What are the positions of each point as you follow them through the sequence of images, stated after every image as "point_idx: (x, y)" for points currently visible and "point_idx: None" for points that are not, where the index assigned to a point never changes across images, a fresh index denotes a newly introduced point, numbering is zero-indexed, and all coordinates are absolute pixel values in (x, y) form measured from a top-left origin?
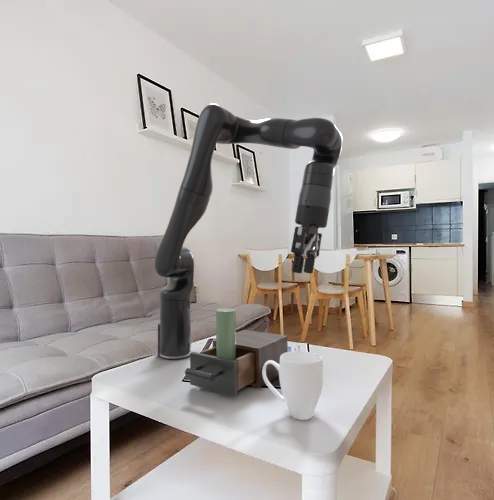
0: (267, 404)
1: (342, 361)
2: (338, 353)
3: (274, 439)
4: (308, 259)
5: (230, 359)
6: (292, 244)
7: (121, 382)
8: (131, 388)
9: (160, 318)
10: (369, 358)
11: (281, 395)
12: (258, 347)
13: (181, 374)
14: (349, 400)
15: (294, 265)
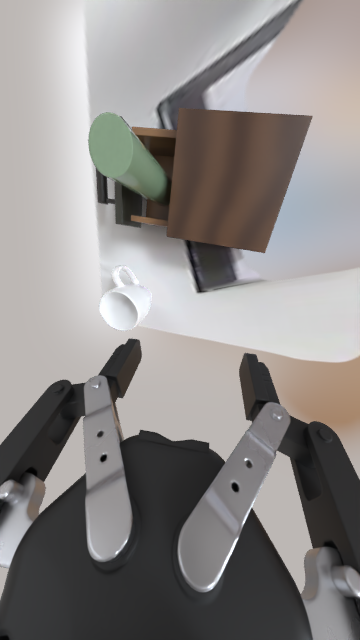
0: (148, 261)
1: (319, 313)
2: None
3: (103, 285)
4: (251, 401)
5: (121, 211)
6: (31, 409)
7: None
8: (97, 40)
9: None
10: (342, 344)
11: (135, 281)
12: (170, 233)
13: (180, 74)
14: (188, 326)
15: (113, 355)
